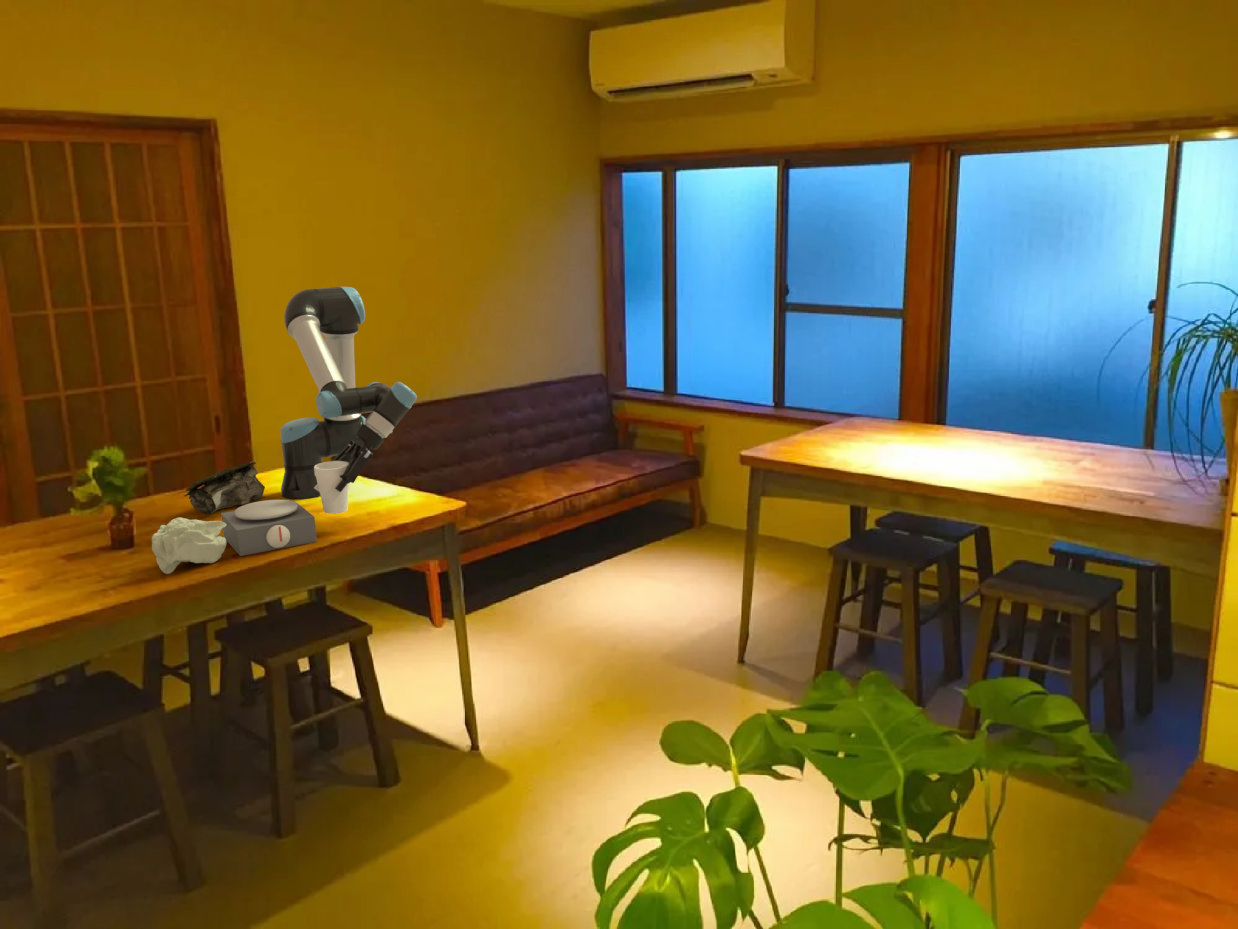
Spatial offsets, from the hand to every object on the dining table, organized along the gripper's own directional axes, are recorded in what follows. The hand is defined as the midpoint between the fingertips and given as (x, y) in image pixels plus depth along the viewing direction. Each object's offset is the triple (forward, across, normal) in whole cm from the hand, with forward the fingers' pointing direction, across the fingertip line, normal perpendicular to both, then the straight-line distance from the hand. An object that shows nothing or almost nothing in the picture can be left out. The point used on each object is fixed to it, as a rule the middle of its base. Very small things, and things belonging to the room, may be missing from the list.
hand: (323, 495), depth 283 cm
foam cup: (+1, 0, -6) cm, 6 cm away
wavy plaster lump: (+34, -7, +19) cm, 39 cm away
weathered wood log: (+21, +46, +4) cm, 51 cm away
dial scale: (+18, +2, +3) cm, 18 cm away
